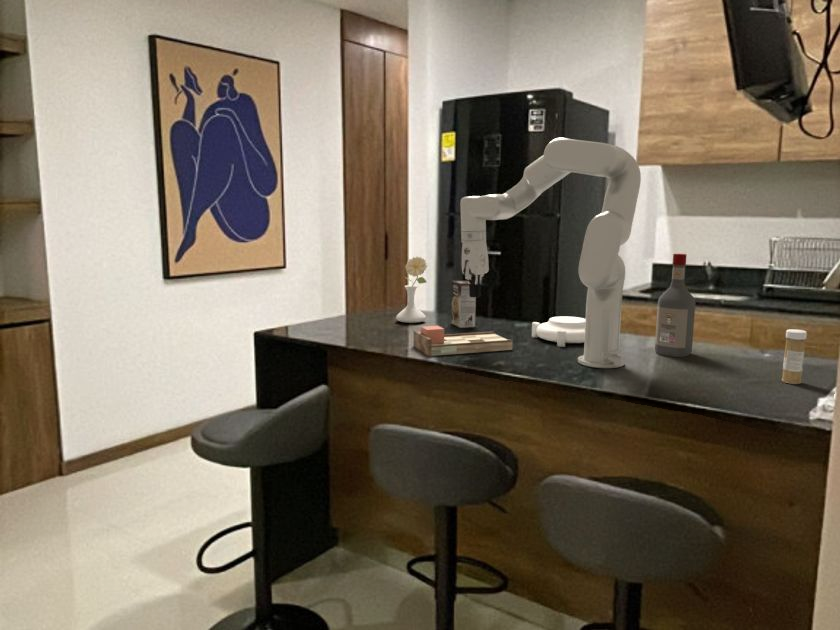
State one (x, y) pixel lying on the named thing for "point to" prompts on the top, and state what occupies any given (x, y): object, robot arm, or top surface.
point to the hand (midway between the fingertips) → (475, 296)
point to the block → (434, 333)
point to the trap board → (462, 343)
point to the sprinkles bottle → (794, 356)
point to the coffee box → (462, 305)
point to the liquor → (675, 315)
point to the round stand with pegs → (561, 330)
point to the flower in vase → (413, 292)
